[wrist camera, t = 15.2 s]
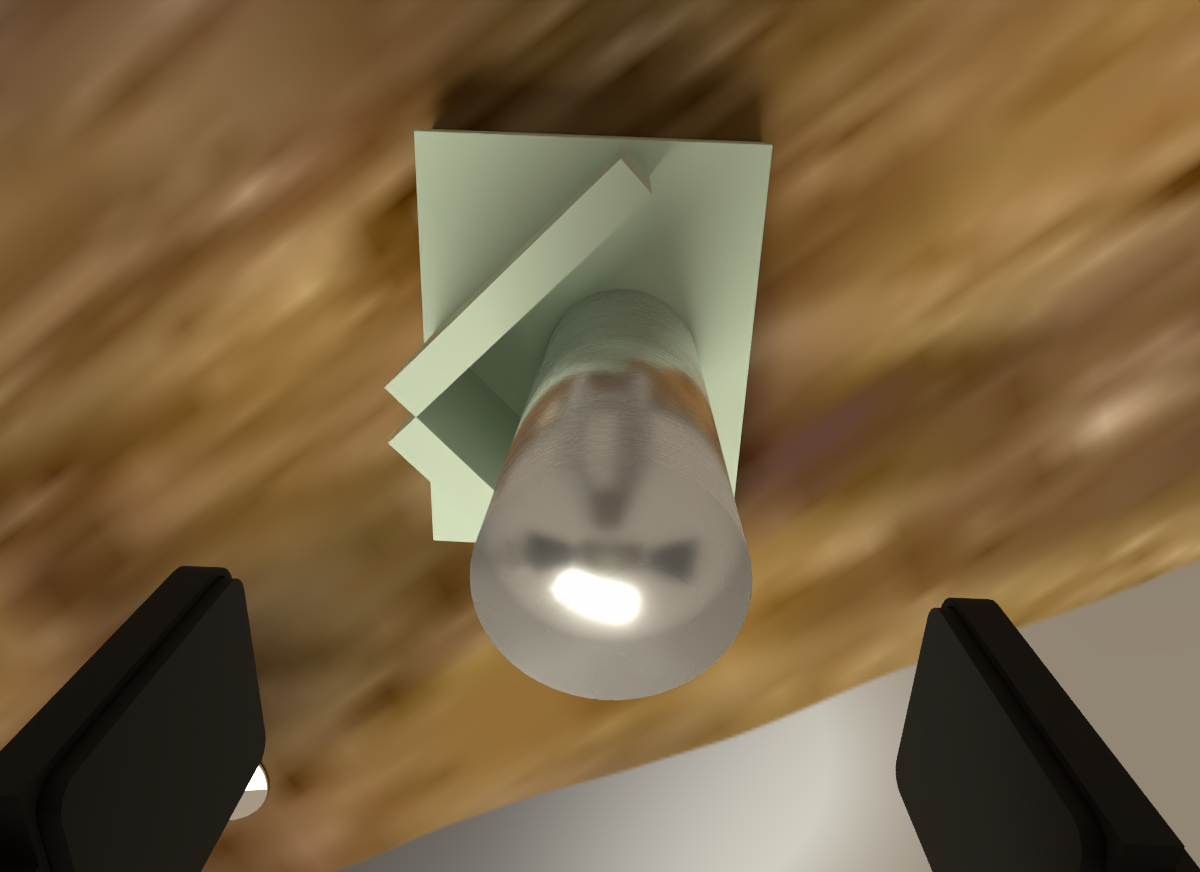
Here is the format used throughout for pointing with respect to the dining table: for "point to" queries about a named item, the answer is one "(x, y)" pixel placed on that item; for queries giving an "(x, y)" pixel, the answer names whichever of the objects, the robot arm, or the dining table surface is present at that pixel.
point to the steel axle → (614, 513)
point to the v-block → (565, 281)
